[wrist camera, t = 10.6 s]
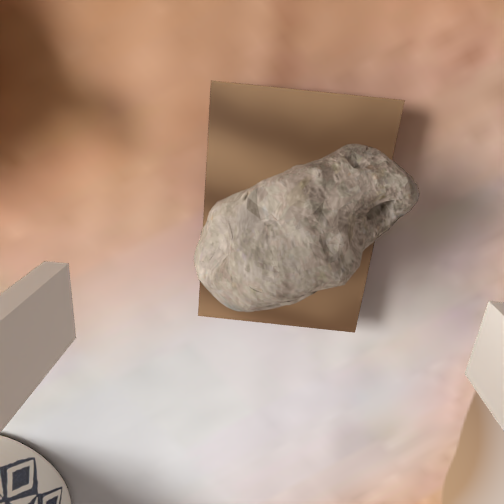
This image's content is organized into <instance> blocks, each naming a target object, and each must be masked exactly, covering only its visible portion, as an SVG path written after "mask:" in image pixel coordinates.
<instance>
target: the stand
mask: <svg viewBox="0 0 504 504" xmlns="http://www.w3.org/2000/svg"><path fill="white" fill-rule="evenodd" d="M404 102H405V100H397V99H388V98H378V97H368V96H358V95H348V94H338V93H329V92H319V91H309V90H299V89H289V88H279V87H269V86H260V85H250V84H240V83H230V82H220V81H211V88H210V107H209V125H208V144H207V162H206V180H205V199H204V217H203V227H204V225H205V224H206V222H207V218H208V215H209V212H210V210H211V209H212V207H213V206H214V205H215V204H216V203H217V202H218V201H220V200H222V199H225V198H227V197H229V196H231V195H233V194H235V193H237V192H240V191H243V190H246V189H248V188H251V187H253V186H254V185H256V184H257V183H259V182H260V181H262V180H264V179H267V178H270V177H272V176H274V175H277V174H280V173H283V172H284V171H286V170H288V169H290V168H292V167H293V166H296V165H300V164H302V165H304V164H307V163H309V162H312V161H315V160H319V159H321V158H323V157H325V156H327V155H329V154H331V153H333V152H335V151H336V150H338V149H340V148H341V147H343V146H345V145H347V144H361V145H365V146H370V147H373V148H376V149H378V150H379V151H381V152H382V153H384V154H385V155H386V156H388V157H389V159H391V160H392V158H393V153H394V148H395V144H396V139H397V134H398V130H399V125H400V120H401V116H402V111H403V107H404ZM373 246H374V242H373V243H372V244H370V245H369V246H368V247H367V248H366V249H365V250H364V251H363V253H362V258H361V263H360V267H359V268H358V269H357V270H356V272H355V273H354V274H353V275H352V276H351V278H350V279H349V280H348V281H347V283H346V284H345V285H342V286H337V287H333V288H328V289H324V290H319V291H317V292H315V293H314V294H312V295H310V296H308V297H306V298H305V299H303V300H301V301H299V302H297V303H295V304H291V305H285V306H281V307H277V308H274V309H269V310H260V311H254V312H244V311H235V310H232V309H230V308H228V307H226V306H224V305H223V304H221V303H220V302H219V301H218V300H217V299H216V298H215V297H214V296H213V295H212V294H211V293H210V292H209V291H208V290H207V289H206V287H205V286H204V285H203V284H202V283H201V282H200V291H199V309H198V316H206V317H215V318H224V319H234V320H243V321H252V322H262V323H271V324H281V325H290V326H299V327H309V328H318V329H327V330H337V331H346V332H355V330H356V325H357V320H358V316H359V311H360V306H361V302H362V297H363V293H364V288H365V283H366V279H367V274H368V269H369V265H370V260H371V255H372V251H373Z"/></svg>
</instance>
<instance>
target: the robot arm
mask: <svg viewBox="0 0 504 504" xmlns="http://www.w3.org/2000/svg"><path fill="white" fill-rule="evenodd" d="M75 338H76V333H75V323H74V313H73V303H72V293H71V283H70V273H69V263H59V262H48V261H44V262H43V263H41V264H40V265H39V266H37V267H36V268H35V269H33V270H32V271H31V272H29V273H28V274H27V275H25V276H24V277H23V278H21V279H20V280H19V281H17V282H16V283H15V284H13V285H12V286H11V287H9V288H8V289H7V290H5V291H4V292H2V293H1V294H0V432H1V431H2V430H3V429H4V427H5V426H6V425H7V424H8V422H9V421H10V420H11V419H12V417H13V416H14V415H15V414H16V412H17V411H18V410H19V409H20V407H21V406H22V405H23V404H24V402H25V401H26V400H27V399H28V397H29V396H30V395H31V394H32V392H33V391H34V390H35V389H36V387H37V386H38V385H39V384H40V382H41V381H42V380H43V379H44V377H45V376H46V375H47V373H48V372H49V371H50V370H51V368H52V367H53V366H54V365H55V363H56V362H57V361H58V360H59V358H60V357H61V356H62V355H63V353H64V352H65V351H66V350H67V348H68V347H69V346H70V345H71V343H72V342H73V341H74V340H75ZM465 375H466V376H467V378H468V379H469V381H470V382H471V384H472V385H473V387H474V388H475V390H476V391H477V392H478V394H479V395H480V397H481V399H482V400H483V401H484V403H485V405H486V406H487V407H488V409H489V410H490V412H491V413H492V414H493V416H494V418H495V419H496V421H497V422H498V424H499V425H500V427H501V428H502V430H503V431H504V302H494V301H489V302H488V305H487V308H486V311H485V314H484V317H483V320H482V323H481V326H480V329H479V332H478V335H477V338H476V341H475V344H474V347H473V350H472V353H471V356H470V359H469V362H468V365H467V368H466V371H465Z"/></svg>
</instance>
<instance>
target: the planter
mask: <svg viewBox="0 0 504 504" xmlns="http://www.w3.org/2000/svg"><path fill="white" fill-rule="evenodd" d="M0 504H71V500H70V495H69V491H68V489H67V486H66V484H65V482H64V480H63V479H62V477H61V476H60V474H59V473H58V471H57V470H56V469H55V468H54V467H53V466H52V465H51V464H50V463H49V462H48V461H47V460H46V459H45V458H44V457H43V456H41V455H40V454H38V453H37V452H36V451H34V450H33V449H31V448H29V447H28V446H26V445H24V444H22V443H20V442H18V441H15V440H13V439H10V438H8V437H5V436H1V435H0Z"/></svg>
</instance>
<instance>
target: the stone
mask: <svg viewBox="0 0 504 504" xmlns="http://www.w3.org/2000/svg"><path fill="white" fill-rule="evenodd" d="M418 197H419V190H418V187H417V184H416V183H415V182H414V180H413V179H412V177H411V176H410V175H409V174H407V173H406V172H405V171H404V170H403V169H402V168H401V167H400V166H399V165H397V164H396V163H395V162H394V161H392V160H391V159H389V157H388V156H386V155H385V154H384V153H382V152H381V151H379V150H378V149H376V148H373V147H370V146H365V145H361V144H347V145H345V146H343V147H341V148H340V149H338V150H336V151H335V152H333V153H331V154H329V155H327V156H325V157H323V158H321V159H319V160H315V161H312V162H309V163H307V164H304V165H302V164H300V165H296V166H293V167H292V168H290V169H288V170H286V171H284V172H283V173H280V174H277V175H274V176H272V177H270V178H267V179H264V180H262V181H260V182H259V183H257V184H256V185H254V186H253V187H251V188H248V189H246V190H243V191H240V192H237V193H235V194H233V195H231V196H229V197H227V198H225V199H222V200H220V201H218V202H217V203H216V204H215V205H214V206H213V207H212V209H211V210H210V212H209V215H208V218H207V222H206V224H205V225H204V227H203V229H202V231H201V236H200V240H199V242H198V244H197V247H196V251H195V255H194V265H195V267H196V271H197V275H198V278H199V281H200V282H201V283H202V284H203V285H204V286H205V287H206V289H207V290H208V291H209V292H210V293H211V294H212V295H213V296H214V297H215V298H216V299H217V300H218V301H219V302H220V303H221V304H223V305H224V306H226V307H228V308H230V309H232V310H235V311H244V312H254V311H260V310H269V309H274V308H277V307H281V306H285V305H291V304H295V303H297V302H299V301H301V300H303V299H305V298H306V297H308V296H310V295H312V294H314V293H315V292H317V291H319V290H324V289H328V288H333V287H337V286H342V285H345V284H346V283H347V281H348V280H349V279H350V278H351V276H352V275H353V274H354V273H355V272H356V270H357V269H358V268H359V267H360V263H361V258H362V253H363V251H364V250H365V249H366V248H367V247H368V246H369V245H370V244H372V243H373V242H374V241H375V240H376V238H377V237H379V236H380V235H381V234H382V233H384V232H386V231H387V230H389V229H390V228H391V226H392V225H393V224H394V223H395V222H396V221H397V220H398V219H399V218H400V217H401V216H403V215H404V214H406V213H408V212H409V211H410V210H411V209H412V208H413V206H414V205H415V204H416V202H417V201H418Z"/></svg>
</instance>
